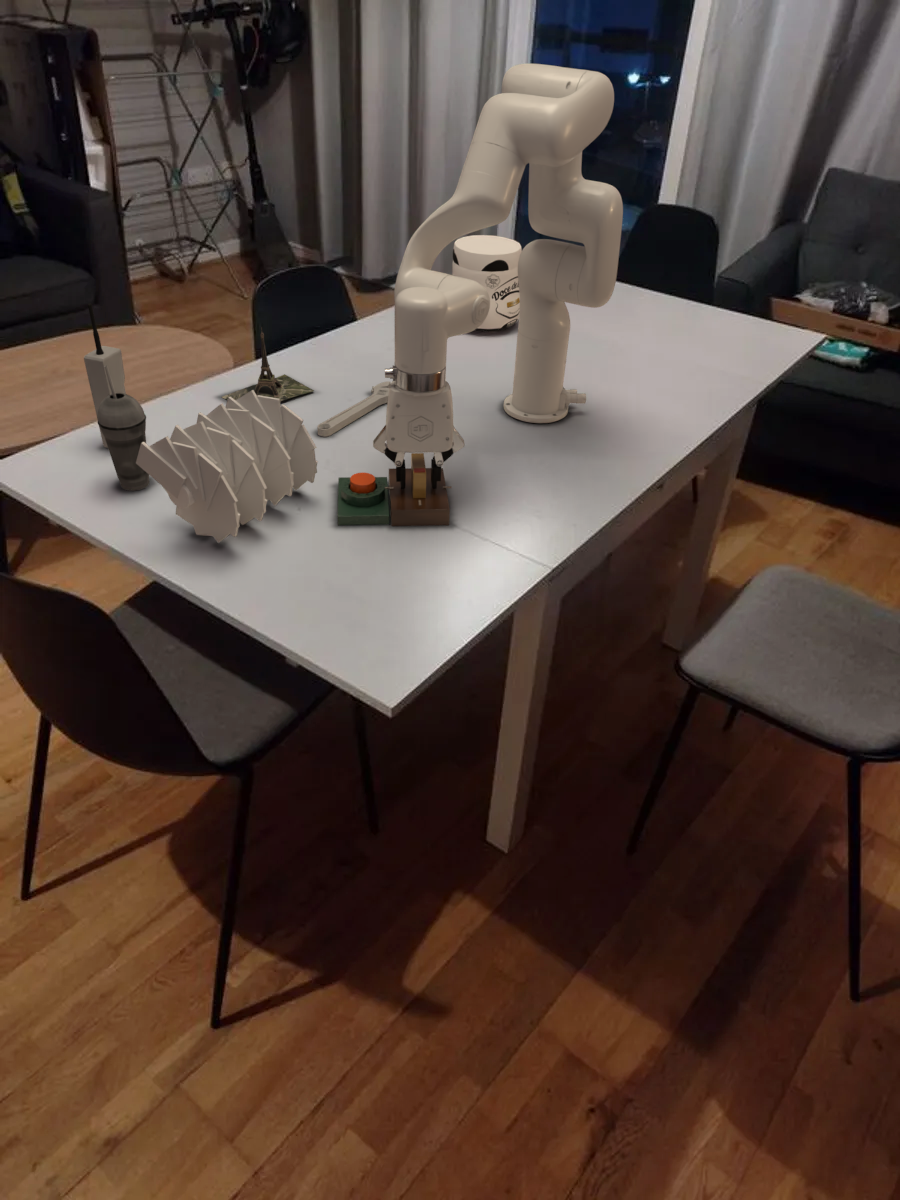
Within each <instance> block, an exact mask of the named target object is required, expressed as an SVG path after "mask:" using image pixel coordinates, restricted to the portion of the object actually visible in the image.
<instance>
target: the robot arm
mask: <svg viewBox="0 0 900 1200" xmlns="http://www.w3.org/2000/svg"><path fill="white" fill-rule="evenodd" d="M614 103H615V91H614V86H613V83H612V81H611V80H610V78H609V77H608V76H607V75H606V74H604V73H602V72H600V71H597V70H590V69H580V68H573V67H564V66H559V65H558V66H557V65H551V64H543V63H542V64H541V63H529V62H528V63H519V64H515V65H513V66H511V67H510V68H508V69H507V70H506V71H505V73H504V75H503V78H502V81H501V93H498V94H495V95H493V96H491V97H489V99H488V100H486V102H485V103H484V105H483V107H482V109H481V111H480V114H479V117H478V120H477V123H476V127H475V129H474V132H473V135H472V138H471V141H470V145H469V147H468V151H467V153H466V157H465V160H464V163H463V166H462V168H461V173H460V175H459V178H458V181H457V185H456V187H455V190H454V193H453V195H452V196H451V197H450V198H449V199H448V200H446V201H445V202H444V203H443V204H442V205H440V206H439V207H438V208H437V209H435V210H434V211H433V212H431V214H430V215H428V217H427V218H426V219H425V220H424V221H423V222H422V223H421V224H420V225H419V227H418V228H417V229H416V230H415V231H414V233H413V234H412V236H411V237H410V239H409V241H408V242H407V245H406V248H405V250H404V253H403V255H402V256H403V257H402V260H401V263H400V266H399V269H398V272H397V275H396V279H395V284H394V290H393V301H394V365H392V367H389V368H384V379H390V380H392V381H390V382H391V384H390V389H389V394H388V402H387V403H386V413H385V425H384V426H383V427H382V429H381V430H380V431H379V432H378V434H377V435H376V437H375V438H374V439H373V440H372V447H373V448H374V449H375V450H376V451H378V452H380V453H381V454H384V456H386V457H387V458H388V459H389V460H390V461H391V462H392V463H394V466H395V468H396V482H400V484H401V489H404V488H405V480H406V468H407V467H406V459H405V455H406V454H407V453H408V454H409V453H410V454H411V453H433V457H432V458H431V459H430V461H431V462H430V463H431V464H430V468H431V484H432V488H433V489H437V481H441V468H442V467H443V466H444V464H445V462H446V461H447V460H448V459H450V458H451V457H452V456H453V455H454V454H455V453H457V452H458V451H461V450H462V449H463V448H465V446H466V443H465V440H464V439H463V437H462V436H461V434H460V433H459V431H458V430H457V428H456V427H455V426H454V404H453V403H454V402H453V394H452V388H451V385H450V383H449V382H448V381H447V380H446V379H447V352H448V350H447V349H448V339H449V338H452V337H456V336H461V335H465V334H469V333H471V332H474V331H476V330H475V329H477V328H478V327H479V326H480V325H481V324H482V323H483V322H484V321H485V319H486V317H487V315H488V312H489V309H490V298H489V294H488V292H487V290H486V289H485V288H484V287H483V286H482V285H481V284H480V283H478V282H476V281H473V280H470V279H466V278H461V277H457V276H453V275H452V274H451V273H445V272H440V271H438V270H437V271H436V270H434V269H433V270H432V268H433V266H434V264H435V261H436V259H437V257H438V256H439V255H440V253H441V252H443V250H444V249H445V248H446V247H447V246H448V245H450V244H451V243H452V242H453V241H456V240H457V239H460V238H462V237H464V236H465V235H466V236H467V235H469V234H472V233H474V232H478V231H480V230H484V229H487V228H490V227H494V226H497V225H499V224H501V223H503V222H505V221H506V220H507V219H508V218H509V216H510V214H511V211H512V207H513V204H514V201H515V199H516V195H517V192H518V189H519V186H520V184H521V180H522V178H523V175H524V172H525V169H526V166H527V165H528V164H529V165H528V166H529V167H528V196H527V197H528V199H527V200H528V202H527V205H528V207H527V211H528V212H527V213H528V222H529V224H530V227H531V229H532V230H534V232H536V233H538V234H541V235H543V236H547V237H551V238H556V239H559V240H556V239H550V238H549V239H548V238H539V239H534V240H532V241H530V242H529V243H527V244H525V246H524V247H523V248H522V252H521V254H520V257H519V261H518V282H519V293H520V311H519V318H518V327H517V336H516V337H517V338H516V349H515V350H516V351H515V360H514V370H513V382H512V393H511V394H509V395H507V396H506V397H505V398H504V400H503V406H502V407H503V410H504V411H505V413H506V414H507V415H508V416H510V417H511V418H513V419H516V420H517V421H522V422H526V423H532V424H548V423H554V422H557V421H560V420H563V419H564V418H565V417H566V416H567V415H568V412H569V406H570V404H579V405H581V404H583V405H584V404H586V403H587V394H586V392H585V393H578V389H566V388H565V387H564V382H565V381H564V380H565V374H566V373H565V372H566V364H567V358H568V350H569V349H568V348H569V339H570V333H571V318H570V313H569V309H568V307H567V305H566V304H567V303H568V304H573V305H577V306H581V307H586V308H591V309H592V308H593V309H595V308H601V307H603V306H605V305H606V304H608V302H609V301H610V299H611V298H612V296H613V293H614V291H615V288H616V282H617V276H618V267H619V258H620V250H621V249H620V248H621V240H622V239H621V238H622V230H623V229H622V228H623V217H624V204H623V199H622V195H621V193H620V191H619V190H618V189H617V188H616V187H615V186H614V185H611V184H609V183H607V182H602V181H596V180H590V179H585V178H584V177H583V173H582V164H583V163H582V162H583V151H584V150H585V149H586V148H587V147H589V145H591V143H593V142H594V141H595V140H596V139H597V138H598V137H599V136H600V135H601V133H603V131H604V130H605V129H606V127H607V126H608V123H609V122H610V119H611V117H612V114H613V110H614ZM561 240H565V241H561ZM566 241H569V242H566ZM571 242H574V243H571ZM575 243H580V244H583V245H584V246H583V245H578V244H575Z"/></svg>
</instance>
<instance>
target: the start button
mask: <svg viewBox="0 0 900 1200" xmlns="http://www.w3.org/2000/svg"><path fill="white" fill-rule="evenodd" d="M349 477H350V489H351V491H352V492H355V493H358V494H366V493H370V492H373V491H374V490H375V488H376V484H375V477H376V476H375V475H373V474H372V473H369V472H356V473H354V474H352V475H350V476H349Z"/></svg>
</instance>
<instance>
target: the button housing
mask: <svg viewBox="0 0 900 1200" xmlns="http://www.w3.org/2000/svg"><path fill="white" fill-rule="evenodd" d="M350 477H351V476H349V477H347V476H346V477H341V476H340V477H338V481H337V483H338V485H337V487H338V489H337V517H336V518H337V526H377V525H378V526H380V525H384V526H385V525H386V526H387V525H390V500H389V489H385V487H389V483H388V476H374V477H375V484H376V488H375V490H374V491H373V492H370V493H366V494H358V493H355V492H352V491H351V489H350Z"/></svg>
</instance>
